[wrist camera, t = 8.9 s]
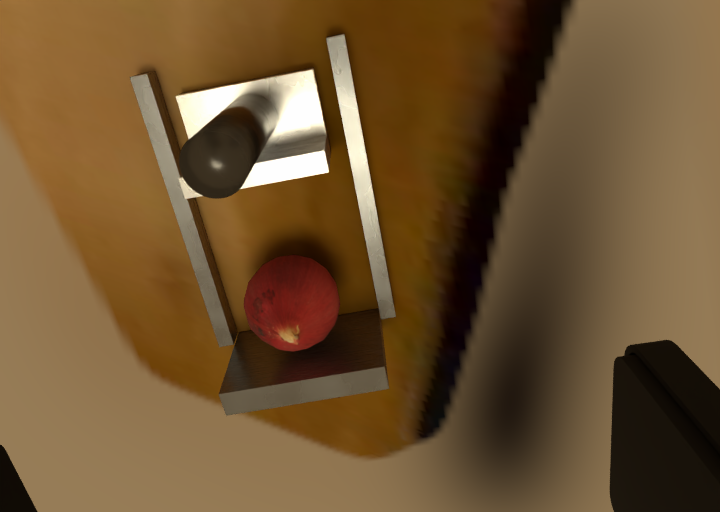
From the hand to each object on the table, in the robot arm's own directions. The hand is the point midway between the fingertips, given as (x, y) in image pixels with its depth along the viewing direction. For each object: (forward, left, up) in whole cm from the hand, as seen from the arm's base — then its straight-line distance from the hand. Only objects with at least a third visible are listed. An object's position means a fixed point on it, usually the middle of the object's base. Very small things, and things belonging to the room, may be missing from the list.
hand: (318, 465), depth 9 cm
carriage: (-1, -5, -28) cm, 29 cm away
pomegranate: (+10, -5, -29) cm, 31 cm away
